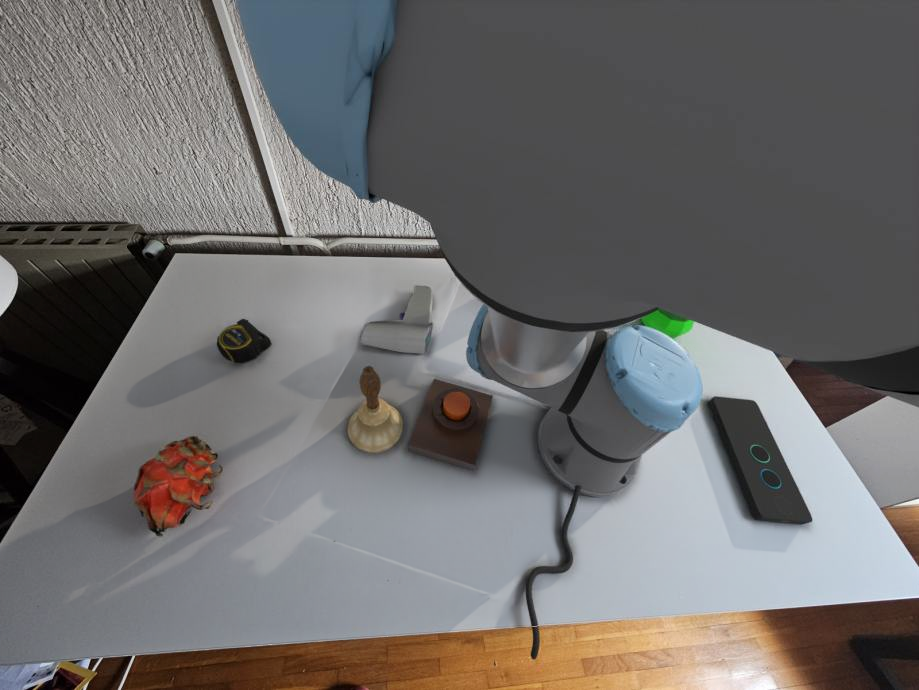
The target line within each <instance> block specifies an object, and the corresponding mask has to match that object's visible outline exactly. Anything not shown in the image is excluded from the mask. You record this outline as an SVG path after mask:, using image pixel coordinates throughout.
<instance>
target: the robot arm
mask: <svg viewBox="0 0 919 690" xmlns="http://www.w3.org/2000/svg"><path fill="white" fill-rule="evenodd" d="M235 3H236V8H237V12H238V17H239V21H240V24H241V27H242V31H243V34H244V37H245V42H246V45H247V48H248V51H249V54H250V58H251V60H252V63H253V66H254V70H255V71H256V75H257V77H258V79H259V82H260V84H261V86H262V89H263V91H264V93H265V95H266V98H267V100H268V102H269V105H270V106H271V108H272V110H273V112H274V115H275V116H276V117H277V119H278V121H279V123H280V125H281V128H282V129H283V130H284V132H285V133H286V135H287V137H288V138H289V139H290V141H291V142H292V144H293V146H295V147H296V149H297V150H298V151H299V152H300V154H301V155H302V156H303V157H304V158H305V159H306V160H307V161H308V162H309V163H310V164H312V166H313V167H315V169H317V170H318V171H319V172H321V173H323V174H324V175H326V176H327V177H329V178H331V179H333V180H335V181H337V182H339V183H340V184H343V185H345V186H347V187H348V188H350V189H351V191H352V192H353V193H354V194H355V196H356V197H357V199H359V200H366V201H368V202H370V204H376V203H377V202H381V201H382V200H384V201H387V202H389V203H392V204H394V205H396V206H398V207H401V208H402V209H405V210H407V211H410V212H412V213H414V214H416V215H417V216H419V217H420V218H421V219H424V220H425V221H426V222H427V223H429V226H430V228H431V231H432V233H433V235H434V237H435V239H436V242H437V244H438V247H439V249H440V252H441V254H442V256H443V258H444V261H445V262H446V263H447V265H448V266H449V268H450V270H451V271H452V274H453V275H454V276H455V278H456V279H457V280H458V281H459V282H460V284H461V285H462V287H464V288H465V290H467V292H468V293H470V294H471V295H472V296H473V297H474V298H475V299H476V300H477V301H478V302H480V303H481V304H482V305H481V306H480V309H479V310H478V312H477V313H476V316H475V319H474V321H473V322H472V324H471V327H470V330H469V334H468V338H467V343H466V344H467V345H468V346H467V348H466V350H465V357H466V362H467V364H468V367H470V369H471V370H473V371H474V372H476V373H478V374H479V375H480V376H481V377H482V378H484V379H486V380H489V381H493V382H496V383H497V384H500V385H502V386H504V387H507V388H508V389H511V390H513V391H515V392H517V393H520V394H521V395H524V396H525V397H527V398H530V399H532V400H534V401H536V402H539V403H541V404H543V405H545V406H547V407H549V410H548V411H547V412H546V413H545V415H544V416H543V418H542V419H541V422H540V424H539V427H538V431H537V447H538V451H539V455H540V457H541V460H542V463H544V464H543V465H545V467H546V468H547V470H548V471H549V473H550V474H551V476H553V477H554V479H555V480H557V481H558V482H559V483H561V484H562V485H563V486H565V487H566V488H568V489H570V490H571V491H573V494H572V498H571V501H570V504H569V506H568V510H567V512H566V515H565V517H564V520H563V523H562V526H561V531H560V535H561V536H560V537H561V542H562V545H563V549H564V551H565V554H566V562H565V563H564V564H562V565H559V566H558V565H557V566H552V565H539V566H536V567H535V568H533V569H532V570H531V571H530V573H529V575H528V577H527V580H526V584H525V600H526V607H527V611H528V616H529V620H530V626H531V630H532V631H531V632H532V645H531V650H530V658H531V660H533V661H534V660H536V659H537V658H538V655H539V650H540V645H541V644H540V643H541V638H540V637H541V635H540V627H539V623H538V618H537V614H536V610H535V605H534V600H533V585H534V581H535V580H536V577H538V576H539V575H540V574H558V575H560V574H564V573H566V572H568V571H569V570H570V569H571V568H572V566H573V563H574V555H573V551H572V548H571V545H570V543H569V540H568V530H569V526H570V523H571V520H572V518H573V516H574V513H575V510H576V507H577V503H578V500H579V497H580V495H583V496H587V497H595V498H596V497H597V498H599V497H602V498H603V497H607V496H611V495H613V494H616V493H618V492H619V491H621V490H623V489H625V487H627V486H628V485H629V484H630V483H631V481H633V479H634V477H635V476H636V474H637V472H638V469H639V466H640V463H641V460H642V456H643V455H644V454H646V453H647V452H648V451H649V450H650V449H651V448H653V447H655V446H656V444H659V442H661V440H663V439H665V438H666V437H667V436H668V435H670V434H671V433H673V432H674V431H676V430H679V429H680V428H681V427H682V426H683V425H684V424H685V422H686V421H687V420H688V419H689V418H690V417H691V416H692V415H693V414H694V413H695V411H696V410H697V409H698V408H699V406H700V403H701V402H702V398H703V381H702V377H701V374H700V371H699V369H698V367H697V364H696V363H695V362H694V361H693V360H692V358H691V357H690V354H689V353H688V352H687V351H686V349H685V348H684V347H683V346H682V345H680V343H678V342H677V341H676V340H675V339H672V338H671V337H669V336H668V335H666V334H664V333H662V332H660V331H658V330H656V329H653V328H650V327H646V326H645V325H639V324H635V325H634V326H632V325H628V324H631V323H634V322H636V321H638V320H641V318H643V317H645V316H647V315H649V314H651V313H653V312H655V311H656V310H658V309H663V310H666V311H668V312H671V313H674V314H676V315H679V316H681V317H684V318H687V319H689V320H692V321H694V323H697V324H699V325H701V326H705V327H707V328H711V329H712V330H716V331H717V332H720V333H723V334H725V335H728V336H731V337H733V338H736V339H739V340H741V341H744V342H747V343H749V344H752V345H755V346H757V347H759V348H762V349H765V350H767V351H770V352H772V353H775V354H777V355H778V356H781V357H785V358H787V359H791V360H794V361H797V362H799V363H801V364H804V365H807V366H809V367H812V368H814V369H817V370H820V371H822V372H825V373H827V374H830V375H832V376H835V377H837V378H840V379H843V381H846V382H849V383H851V384H854V385H857V386H859V387H861V388H865V389H868V390H870V391H873V392H876V393H879V394H880V395H883V396H887V397H889V398H891V399H892V398H893V399H894V400H898V401H900V402H901V403H902V402H903V403H906V404H908V405H911V406H913V407H916V408H919V0H235ZM625 325H626V326H625ZM622 326H624V327H622ZM619 327H621V328H619ZM616 328H619V329H618V330H616V331H615V332H613V333H612V332H608V331H606V330H613V329H616ZM537 625H538V626H537ZM532 626H537V627H532Z"/></svg>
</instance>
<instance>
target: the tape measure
mask: <svg viewBox="0 0 919 690" xmlns="http://www.w3.org/2000/svg"><path fill="white" fill-rule="evenodd" d="M271 346H272V340H271V338H270V337H269V336H268V335H266V334H265V333H263V332H262V331H260V330H258V328H256V326H254V324H252V323H251V322H250V321H249V319H246V318H241V319H239V320H238V321H237V322H236V324H232V325H230V326H227V327H225V328H224V329H223V330H222V331H221V332H220V333H219V335H218V336H217V339H216V347H217V350H218V351H219V353H220V355H221V356H222V358H224V359H225V360H227V361H229V362H233V363H235V364H244V363H249V362H251V361H254V360H255V359H257V358H258V357H259V356H261V355H262V353H264V352H265V351H266V350H268V349H270V347H271Z"/></svg>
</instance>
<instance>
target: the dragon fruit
mask: <svg viewBox="0 0 919 690" xmlns="http://www.w3.org/2000/svg"><path fill="white" fill-rule="evenodd" d="M212 451H213V449H212V447H211V446H210V445H209V444H208V443H206V441H203V440H202V439H201V438H199V436H197V435H192V436H188V437H185V438H184V439H181V440H179V441H178V440H173V441H170V442H168V443H167V444H165V446H164V449H162V450H159V451H158V453H157V454H156V455H155V456H154V457H153V458H151V459H149V460H148V461H146V462H144V463H143V464H141V466H140V467H139V468H138V471H137V476H136V480H135V482H134V485H133V490H134V492H133V503H134V505H135V506H136V507H137V508H138V511H139V513H140V515H141V517H143V518H144V517H145V520H146V522H147V526H148V529H149V530H150V531H151V532H152V533H153V534H155V536H157V537H159V538H160V537H161V538H162V537H164V533H167V531H166V530H168V529H175V528H177V527H179V526H181V525H184V524H185V523H186V520H187V519H188V517H190V515H191V512H192V509H190V508H193V509H195V510H198V511H203V510H205V509H206V510H209V509H210V508H211V507H212V505H213V503H214V500H211V501H210V500H209V501H208V502H206V503H204V504H201V501H200V499H201V496H209V495H211V494H212V493H213V492H214V483H213V478H217V477H219V476H221V474H222V473H223V472H224V467H223V466H222V465H218V466H219V467H218V468H220V469H221V470H219V471H214V470H213V469H212V467H211V465H213V464H215V463H216V462H217V461H218V458H219V454H218V452H216V451H215V453H212ZM188 509H190V510H189V511H188Z"/></svg>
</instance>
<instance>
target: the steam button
mask: <svg viewBox="0 0 919 690" xmlns="http://www.w3.org/2000/svg"><path fill="white" fill-rule="evenodd" d="M469 409H470V400H469V398H468V397H467V396H466V395H465V394H464V393H461V392H451V393H449V394H448V395H446V397H445V398H444V402H443V412H444V414H445V416H446V417H447V418H449V419H451V420H454V421H459V420H462V419H464V418H465V417H466V416H467V415H468V413H469Z"/></svg>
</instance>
